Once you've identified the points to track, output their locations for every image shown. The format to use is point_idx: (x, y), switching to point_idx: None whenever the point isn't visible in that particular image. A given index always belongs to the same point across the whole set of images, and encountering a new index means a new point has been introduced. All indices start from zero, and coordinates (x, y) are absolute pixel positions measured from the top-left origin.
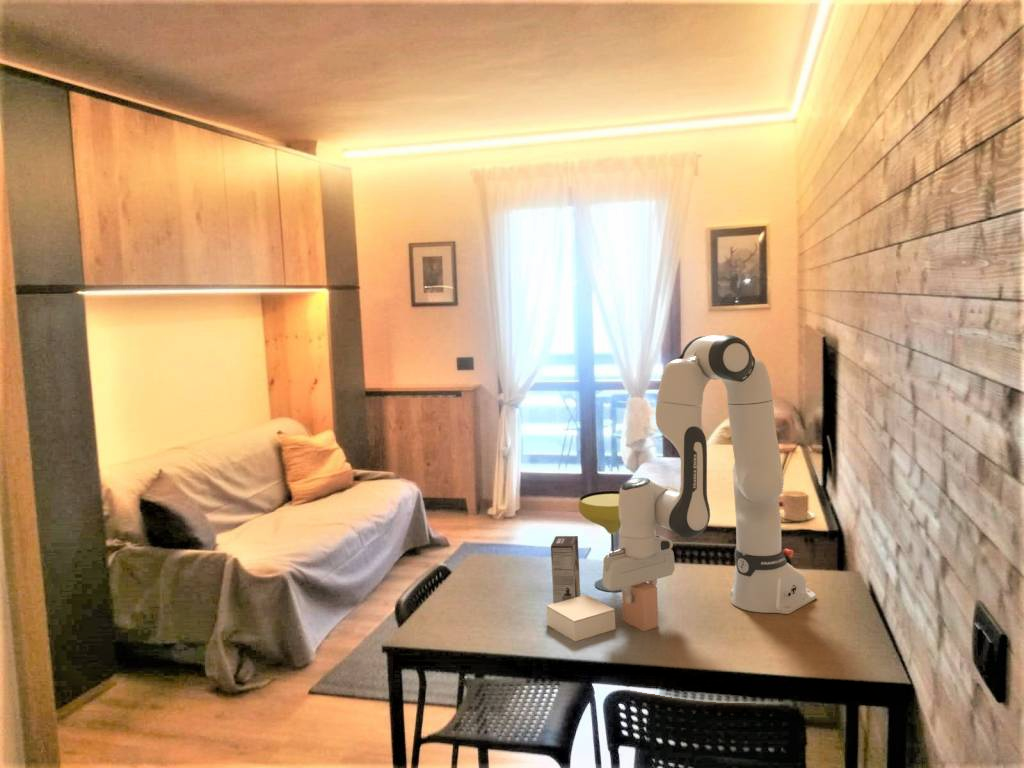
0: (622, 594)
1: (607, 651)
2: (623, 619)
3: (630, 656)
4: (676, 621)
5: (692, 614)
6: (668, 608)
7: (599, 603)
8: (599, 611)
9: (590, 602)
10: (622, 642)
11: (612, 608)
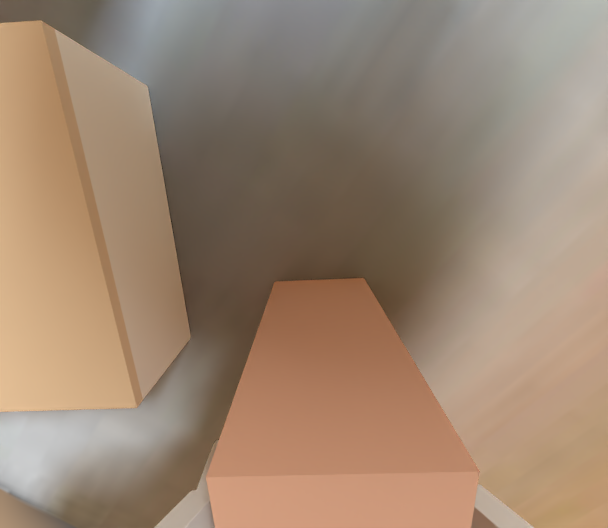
0: (246, 363)
1: (72, 464)
2: (274, 285)
3: (130, 520)
4: (461, 409)
5: (573, 393)
6: (555, 285)
7: (80, 275)
8: (28, 385)
9: (19, 219)
10: (156, 439)
11: (130, 390)
